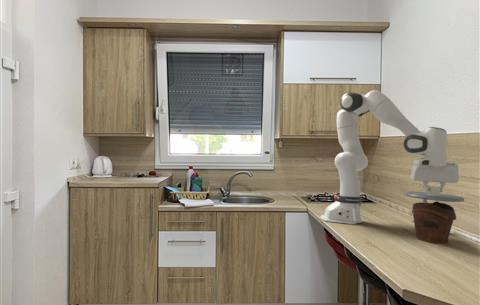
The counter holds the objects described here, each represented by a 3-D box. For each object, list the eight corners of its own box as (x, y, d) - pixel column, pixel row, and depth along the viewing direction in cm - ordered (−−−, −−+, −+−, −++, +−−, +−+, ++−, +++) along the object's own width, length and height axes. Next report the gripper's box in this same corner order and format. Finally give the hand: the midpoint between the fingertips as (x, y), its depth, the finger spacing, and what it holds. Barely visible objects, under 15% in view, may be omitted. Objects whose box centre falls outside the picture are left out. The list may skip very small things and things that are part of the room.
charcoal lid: (418, 199, 143) (419, 188, 143) (396, 192, 167) (397, 182, 167) (476, 203, 142) (477, 191, 141) (446, 195, 165) (446, 185, 165)
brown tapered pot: (446, 236, 162) (447, 199, 162) (461, 247, 143) (463, 206, 142) (406, 232, 167) (407, 197, 167) (416, 243, 148) (417, 203, 147)
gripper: (454, 162, 157) (452, 192, 157) (409, 160, 158) (408, 189, 158) (462, 163, 150) (460, 193, 151) (416, 161, 152) (414, 191, 152)
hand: (433, 191), depth 154 cm, fingers closed on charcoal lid, 4 cm apart
